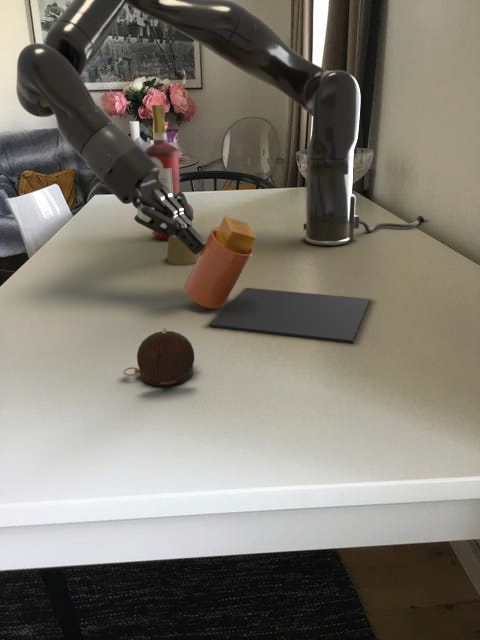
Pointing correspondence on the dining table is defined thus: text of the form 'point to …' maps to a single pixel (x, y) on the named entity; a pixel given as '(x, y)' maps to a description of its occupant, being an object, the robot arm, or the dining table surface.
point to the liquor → (164, 156)
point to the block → (235, 235)
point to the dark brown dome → (164, 358)
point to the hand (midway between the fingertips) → (201, 249)
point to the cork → (180, 251)
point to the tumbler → (215, 273)
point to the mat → (294, 314)
